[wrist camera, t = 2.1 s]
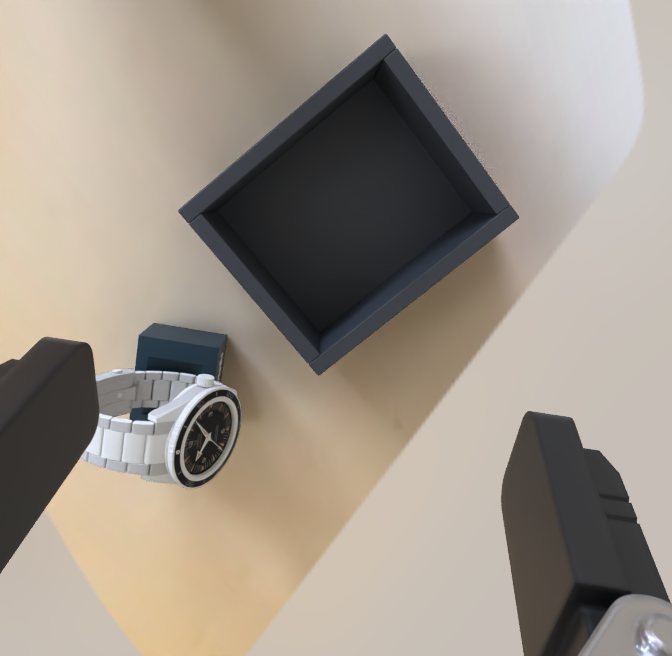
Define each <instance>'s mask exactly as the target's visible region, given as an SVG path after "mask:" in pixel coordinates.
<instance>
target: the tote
mask: <svg viewBox="0 0 672 656" xmlns="http://www.w3.org/2000/svg"><path fill="white" fill-rule="evenodd" d="M178 211H179V213H180V214H181V215H182V217H183V218H184V219H185V220H186V221H187V222H188V223H190V224H189V225H190V226H191V227H192V228H193V230H194V231H195V232H196V233H197V234H198V235H199V237H200V238H201V239H202V240H203V241H204V242H205V244H206V245H207V246H208V247H209V248H210V249H211V251H212V252H213V253H214V254H215V255H216V257H217V258H218V259H219V260H220V261H221V262H222V264H223V265H224V266H225V267H226V268H227V269H228V271H229V272H230V273H231V274H232V275H233V276H234V278H235V279H236V280H237V281H238V282H239V283H240V285H241V286H242V287H243V288H244V289H245V290H246V292H247V293H248V294H249V295H250V296H251V298H252V299H253V300H254V301H255V302H256V303H257V305H258V306H259V307H260V308H261V309H262V310H263V312H264V313H265V314H266V315H267V316H268V317H269V319H270V320H271V321H272V322H273V323H274V324H275V326H276V327H277V328H278V329H279V330H280V331H281V333H282V334H283V335H284V336H285V337H286V339H287V340H288V341H289V342H290V343H291V344H292V346H293V347H294V348H295V349H296V350H297V351H298V353H299V354H300V355H301V356H302V357H303V358H304V360H305V361H306V362H307V363H308V364H309V366H310V367H311V368H312V369H313V370H314V371H315V373H316V374H317V375H318V376H319V375H320V374H322V373H323V372H324V371H325V370H327V369H328V368H329V367H330V366H332V365H333V364H334V363H336V362H337V361H338V360H339V359H341V358H342V357H343V356H344V355H346V354H347V353H348V352H350V351H351V350H352V349H353V348H355V347H356V346H357V345H358V344H360V343H361V342H362V341H364V340H365V339H366V338H367V337H369V336H370V335H371V334H372V333H374V332H375V331H376V330H378V329H379V328H380V327H381V326H383V325H384V324H385V323H386V322H388V321H389V320H390V319H392V318H393V317H394V316H395V315H397V314H398V313H399V312H400V311H402V310H403V309H404V308H406V307H407V306H408V305H409V304H411V303H412V302H413V301H414V300H416V299H417V298H418V297H419V296H421V295H422V294H423V293H425V292H426V291H427V290H428V289H430V288H431V287H432V286H433V285H435V284H436V283H437V282H439V281H440V280H441V279H442V278H444V277H445V276H446V275H447V274H449V273H450V272H451V271H453V270H454V269H455V268H456V267H458V266H459V265H460V264H461V263H463V262H464V261H465V260H467V259H468V258H469V257H470V256H472V255H473V254H474V253H475V252H477V251H478V250H479V249H481V248H482V247H483V246H484V245H486V244H487V243H488V242H489V241H491V240H492V239H493V238H495V237H496V236H497V235H498V234H500V233H501V232H502V231H503V230H505V229H506V228H507V227H509V226H510V225H511V224H512V223H514V222H515V221H516V220H517V219H519V216H518V215H517V213H516V212H515V211H514V209H513V208H512V206H511V205H510V204H509V202H508V201H507V200H506V198H505V197H504V195H503V194H502V193H501V191H500V190H499V188H498V187H497V186H496V184H495V183H494V182H493V180H492V179H491V177H490V176H489V175H488V173H487V172H486V171H485V169H484V168H483V166H482V165H481V164H480V162H479V161H478V159H477V158H476V157H475V155H474V154H473V153H472V151H471V150H470V148H469V147H468V146H467V144H466V143H465V141H464V140H463V139H462V137H461V136H460V135H459V133H458V132H457V130H456V129H455V128H454V126H453V125H452V124H451V122H450V121H449V119H448V118H447V117H446V115H445V114H444V112H443V111H442V110H441V108H440V107H439V106H438V104H437V103H436V101H435V100H434V99H433V97H432V96H431V94H430V93H429V92H428V90H427V89H426V88H425V86H424V85H423V83H422V82H421V81H420V79H419V78H418V76H417V75H416V74H415V72H414V71H413V70H412V68H411V67H410V65H409V64H408V63H407V61H406V60H405V59H404V57H403V56H402V54H401V53H400V52H399V50H398V49H396V46H395V45H394V43H393V42H392V41H391V39H390V38H389V37H388V35H387V34H384V35H383V36H382V37H381V38H380V39H378V40H377V41H376V42H375V43H374V44H373V45H371V46H370V47H369V48H368V49H367V50H366V51H364V52H363V53H362V54H361V55H360V56H358V57H357V58H356V59H355V60H354V61H353V62H351V63H350V64H349V65H348V66H347V67H346V68H344V69H343V70H342V71H341V72H340V73H339V74H337V75H336V76H335V77H334V78H333V79H332V80H330V81H329V82H328V83H327V84H326V85H324V86H323V87H322V88H321V89H320V90H319V91H317V92H316V93H315V94H314V95H313V96H312V97H310V98H309V99H308V100H307V101H306V102H305V103H303V104H302V105H301V106H300V107H299V108H297V109H296V110H295V111H294V112H293V113H292V114H290V115H289V116H288V117H287V118H286V119H285V120H283V121H282V122H281V123H280V124H279V125H278V126H276V127H275V128H274V129H273V130H272V131H270V132H269V133H268V134H267V135H266V136H265V137H263V138H262V139H261V140H260V141H259V142H258V143H256V144H255V145H254V146H253V147H252V148H251V149H249V150H248V151H247V152H246V153H245V154H244V155H242V156H241V157H240V158H239V159H238V160H236V161H235V162H234V163H233V164H232V165H231V166H229V167H228V168H227V169H226V170H225V171H224V172H222V173H221V174H220V175H219V176H218V177H217V178H215V179H214V180H213V181H212V182H211V183H209V184H208V185H207V186H206V187H205V188H204V189H202V190H201V191H200V192H199V193H198V194H197V195H195V196H194V197H193V198H192V199H191V200H190V201H188V202H187V203H186V204H185V205H184V206H182V207H181V208H180V209H179V210H178Z"/></svg>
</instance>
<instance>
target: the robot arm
mask: <svg viewBox="0 0 672 656" xmlns="http://www.w3.org/2000/svg"><path fill="white" fill-rule="evenodd" d="M98 421H99V401H98V393H97V385H96V376H95V368H94V360H93V353H92V349H91V347H90V345H89V344H88V343H84V342H78V341H71V340H65V339H58V338H51V337H44V338H42V339H41V340H40V341H38V342H37V343H36V344H35V345H34V346H33V347H32V348H31V349H30V350H29V351H28V352H27V353H26V354H25V355H24V356H23V357H22V358H21V359H20V360H15V359H11V360H9V361H7V362H5V363H3V364H1V365H0V573H1V572H2V570H3V569H4V567H5V566H6V564H7V563H8V562H9V560H10V559H11V557H12V556H13V554H14V553H15V551H16V550H17V549H18V547H19V546H20V544H21V543H22V541H23V540H24V538H25V537H26V535H27V534H28V533H29V531H30V529H31V528H32V527H33V525H34V524H35V522H36V521H37V520H38V518H39V517H40V515H41V514H42V512H43V511H44V509H45V508H46V506H47V505H48V504H49V502H50V501H51V499H52V498H53V496H54V495H55V493H56V492H57V491H58V489H59V488H60V486H61V485H62V483H63V482H64V480H65V479H66V477H67V476H68V475H69V473H70V472H71V470H72V469H73V467H74V466H75V464H76V463H77V462H78V460H79V459H80V457H81V456H82V454H83V453H84V451H85V450H86V448H87V447H88V446H89V444H90V443H91V441H92V439H93V437H94V435H95V432H96V429H97V426H98ZM501 503H502V513H503V520H504V527H505V533H506V540H507V546H508V553H509V560H510V565H511V572H512V579H513V586H514V593H515V599H516V606H517V612H518V619H519V625H520V632H521V638H522V645H523V652H524V656H672V604H671V603H670V600H669V598H668V595H667V593H666V590H665V588H664V585H663V582H662V580H661V577H660V575H659V572H658V570H657V567H656V565H655V562H654V560H653V557H652V555H651V552H650V550H649V547H648V545H647V542H646V540H645V537H644V535H643V532H642V529H641V527H640V525H639V524H637V517H636V514H635V512H634V509H633V506H632V504H631V503H629V496H628V494H627V491H626V489H625V486H624V484H623V481H622V479H621V476H620V474H619V472H617V470H616V469H615V468H614V467H613V466H612V465H611V464H610V463H609V461H608V460H607V459H606V458H605V457H604V456H603V455H602V453H601V452H600V451H598V450H591V449H585V448H583V446H582V443H581V440H580V437H579V434H578V431H577V429H576V426H575V423H574V421H573V419H572V418H570V417H565V416H558V415H551V414H545V413H538V412H532V411H528V412H527V413H526V414H525V415H524V417H523V420H522V423H521V426H520V428H519V432H518V435H517V438H516V441H515V444H514V447H513V450H512V453H511V456H510V459H509V462H508V465H507V468H506V471H505V475H504V479H503V484H502V495H501Z"/></svg>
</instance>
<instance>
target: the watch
mask: <svg viewBox="0 0 672 656" xmlns="http://www.w3.org/2000/svg"><path fill="white" fill-rule="evenodd" d="M226 340H227V335H224V334H218V333H212V332H206V331H199V330H193V329H187V328H181V327H175V326H169V325H162V324H156V323H153V324H152V325H151V326H150V327H148V328H147V329H146V330H145V331H143V332H142V333H141V334H140V335H139V339H138V348H137V357H136V366H135V371H134V370H132V368H130V369H123V370H121V369H115V370H113V371H112V372H107V373H103V374H99V375H96V385H97V393H98V401H99V421H98V426H97V429H96V432H95V435H94V437H93V439H92V441H91V443H90V444H89V446H88V447H87V448H86V450H85V451H84V453H83V454H82V456H81V457H80V458H81V459H83V460H84V461H88V462H89V463H91V464H93V465H96V466H98V467H101V468H106V469H109V470H113V471H117V472H122V473H126V472H127V473H130V474H137V475H141V479H143V480H146V481H149V482H157V483H168V484H177V485H179V486H181V487H183V488H185V489H196V488H199V487H201V486H203V485H205V484H207V483H208V482H210V480H212V479H213V478H214V477H215V476H216V475H217V474H218V473H219V472H220V470H221V469H222V468H223V466H224V465H225V464H226V462H227V460H228V459H229V457H230V455H231V453H232V451H233V449H234V447H235V445H236V442H237V439H238V435H239V431H240V426H241V417H242V415H241V414H242V413H241V412H242V411H241V405H240V401H239V398H238V396H237V391H236V390H235V389H232V388H229V387H227V386H225V385H223V384H222V383H220V382H221V375H222V368H223V361H224V354H225V347H226ZM127 413H130V419H121V418H113V419H112V417H116V416H119V415H123V414H127ZM127 466H128V467H127Z"/></svg>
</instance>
